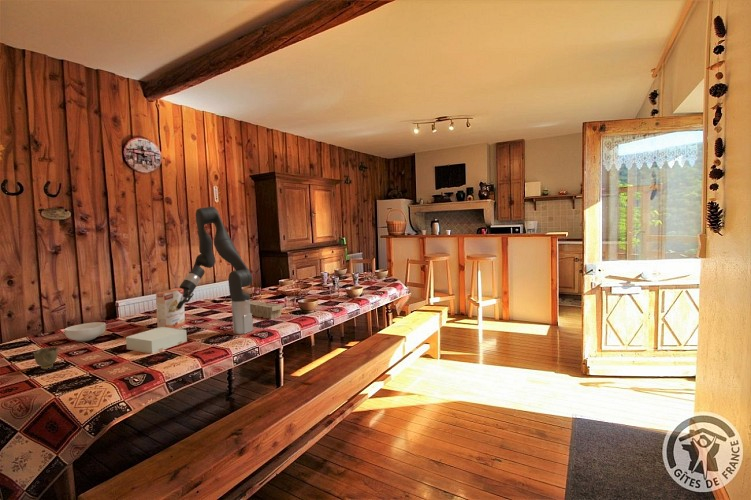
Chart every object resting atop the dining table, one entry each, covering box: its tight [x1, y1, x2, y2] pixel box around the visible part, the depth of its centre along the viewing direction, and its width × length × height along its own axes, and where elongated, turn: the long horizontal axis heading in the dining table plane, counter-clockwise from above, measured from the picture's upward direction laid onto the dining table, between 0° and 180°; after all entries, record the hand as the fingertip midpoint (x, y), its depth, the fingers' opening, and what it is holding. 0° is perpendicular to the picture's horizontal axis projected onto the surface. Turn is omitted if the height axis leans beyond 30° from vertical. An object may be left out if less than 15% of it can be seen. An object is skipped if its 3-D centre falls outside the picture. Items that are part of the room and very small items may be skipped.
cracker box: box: [155, 287, 186, 329], centre depth 197 cm, size 14×6×21 cm, turn 168°
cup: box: [32, 346, 58, 370], centre depth 149 cm, size 8×7×8 cm
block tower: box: [250, 300, 283, 320], centre depth 229 cm, size 8×8×29 cm
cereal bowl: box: [64, 321, 107, 343], centre depth 188 cm, size 17×17×7 cm
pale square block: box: [125, 327, 188, 355], centre depth 175 cm, size 18×18×6 cm
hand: (173, 307), depth 199 cm, fingers closed on cracker box, 6 cm apart
